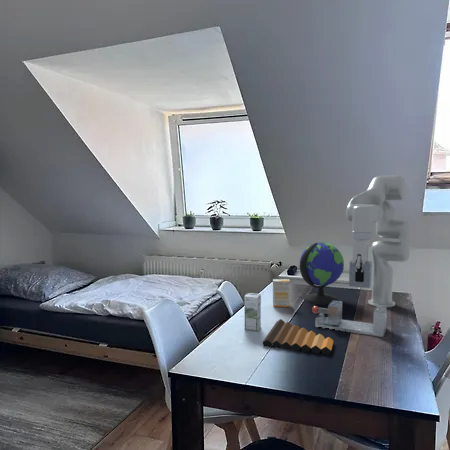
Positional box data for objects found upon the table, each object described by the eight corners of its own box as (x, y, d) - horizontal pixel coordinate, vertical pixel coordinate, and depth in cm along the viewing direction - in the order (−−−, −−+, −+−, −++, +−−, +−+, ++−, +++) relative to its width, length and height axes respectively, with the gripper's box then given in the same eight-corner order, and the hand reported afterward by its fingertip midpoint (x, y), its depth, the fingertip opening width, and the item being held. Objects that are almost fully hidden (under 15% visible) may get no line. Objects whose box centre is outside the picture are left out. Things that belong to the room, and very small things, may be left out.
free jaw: (314, 314, 188) (314, 298, 187) (341, 318, 183) (342, 301, 182) (309, 320, 180) (309, 303, 179) (337, 325, 175) (337, 307, 174)
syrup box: (261, 326, 179) (261, 293, 177) (257, 331, 173) (257, 297, 172) (248, 325, 181) (248, 292, 179) (244, 330, 175) (244, 295, 173)
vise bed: (321, 319, 188) (322, 299, 187) (386, 328, 176) (387, 306, 175) (315, 327, 178) (315, 305, 177) (383, 337, 166) (384, 314, 165)
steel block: (351, 283, 178) (351, 259, 177) (371, 285, 174) (372, 261, 173) (349, 286, 173) (349, 261, 172) (369, 288, 170) (370, 263, 168)
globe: (338, 308, 204) (340, 246, 201) (294, 302, 214) (294, 244, 211) (346, 296, 224) (347, 240, 221) (305, 292, 234) (306, 238, 231)
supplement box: (289, 304, 211) (289, 278, 209) (289, 307, 206) (290, 281, 205) (272, 304, 212) (272, 278, 210) (272, 307, 207) (272, 280, 206)
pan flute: (276, 326, 181) (262, 347, 158) (276, 318, 181) (262, 338, 157) (336, 332, 173) (331, 356, 150) (336, 324, 173) (331, 347, 149)
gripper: (355, 233, 181) (354, 275, 183) (348, 238, 166) (347, 283, 167) (374, 234, 177) (373, 277, 179) (368, 239, 162) (366, 285, 164)
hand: (360, 279), depth 173 cm, fingers closed on steel block, 5 cm apart
